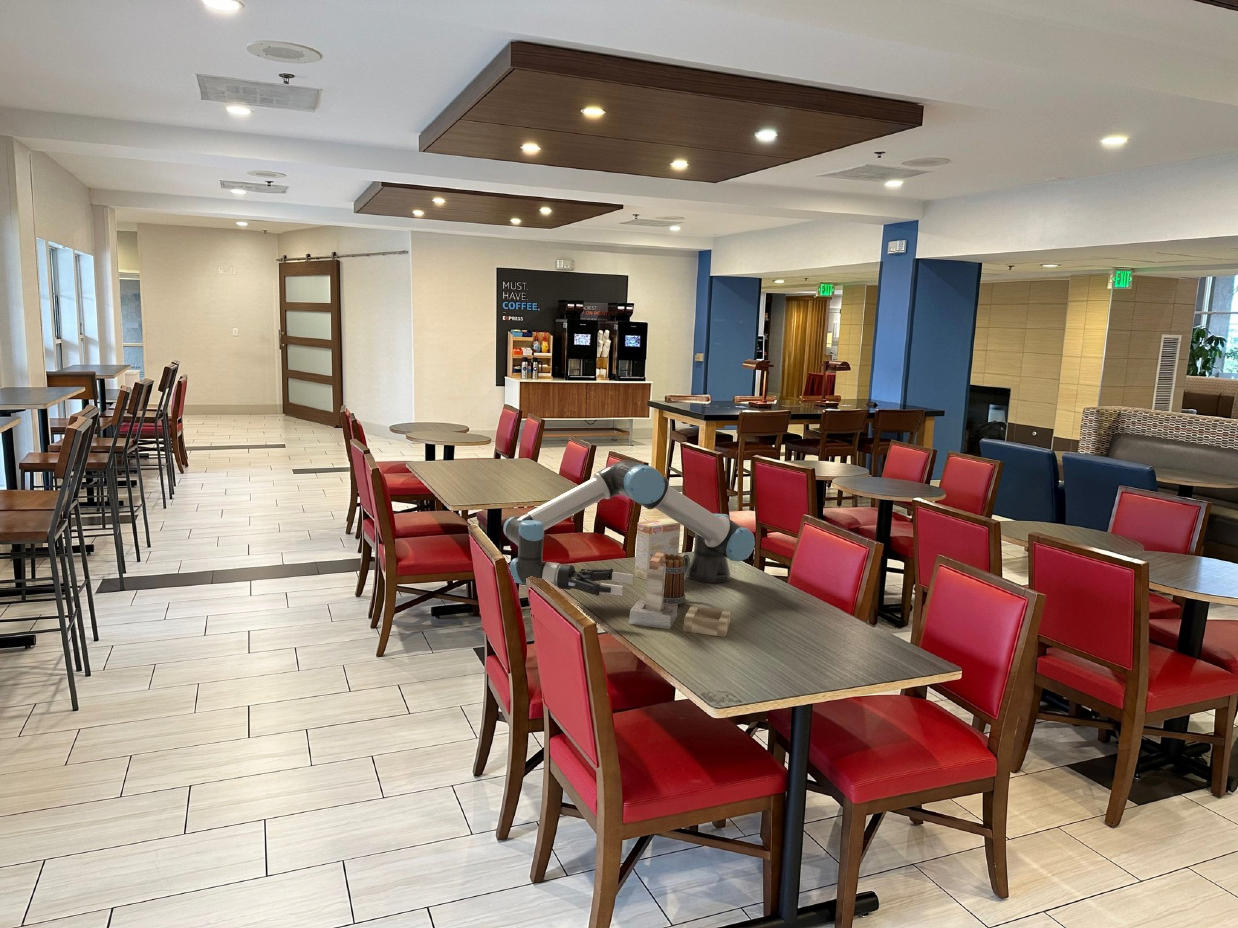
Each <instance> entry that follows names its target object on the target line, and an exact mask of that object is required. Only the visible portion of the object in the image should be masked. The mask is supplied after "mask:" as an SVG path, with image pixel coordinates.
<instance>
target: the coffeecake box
mask: <svg viewBox="0 0 1238 928" xmlns="http://www.w3.org/2000/svg"><path fill="white" fill-rule="evenodd" d="M636 527H637V528H636V532H637V533H636V546H635V547H636V549H635V563H634V577H637V578H640V579H642V580H644V581H647V578H648V565H649V562H650V560H651V559H652V558H653V556H654V555H655V554H656V553H657V552H665V554H668V555H670V554H674V555H680V554H679V553H680V552H679V550H680V538H681V537H680V536H681V524H680V523H678V522H677V521H675V520H674V519H672V518H662V519H655V520H650V521H649V520H647V521H639V522H637V526H636Z"/></svg>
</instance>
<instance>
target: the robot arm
mask: <svg viewBox="0 0 1238 928" xmlns="http://www.w3.org/2000/svg"><path fill="white" fill-rule="evenodd" d="M616 496H623V497H626V498H629V499H630V500H632V501H633V502H636V503H637V504H639V505H640V506H642V507H643V508H645V509H647V510H654V509H656V510H658V511H659V512H661V513H662V514H664V515H665V516H668V517H669V519H672V520H675V521H677V522H678V523H680V525H682V526H684V528H687V530H690V531H692V532H693V533H694V534H695V535H694V547H693V555H692V559H690V568H689V573H688V576H687V578H689V579H692V580H694V581H697V582H700V583H701V582H702V583H709V584H719V583H726V582H729V581H730V579H731V571H730V568H729V563H728V560H729V561H733V562H742V561H744V560H746V559H748V558H749V557H750V556H751V554H752V553H753V551H754V548H755V545H756V544H755V543H756V542H755V536H754V533H753V532H752V531H751V530H750V529H749V528H747V527H743V526H741V525H740V524H738V523H736V522H735V521H733V520H732V519H730V515H729V514H725V513H712V512H711V511H709V510H708V509H706V508H705V507H703V506H701V505H700V504H698V503H697V502H695V501H693V500H692V499H690V498H689V497H688V496H686V495H684V494H683V493H682V492H680V491H678V490H676V489H675V488H673V487H672V486H670V481H669V479H668V478H666V477H665V476H664V475H662V474H661V473H660V471H659V470H658V469H656V468H655V467H652V466H651V465H648V464H644V463H640V462H636V460H635V461H634V460H631V459H626V460H620V461H617V462H615V463H612V464H610V465H608V466H605V468H602V469H601V470H598V471H597V472H595V473H594V474H593V477H592V478H590V479H589V480H587V481H584V482H583V483H581V484H579V485H578V486H576V487H574V488H573V487H572V488H571V489H570V490H568V491H566V492H564V493H562V494H561V495H559V496H556V497H555V498H553V499H551V500H549V501H547V502H546V503H543V504H542V505H540V506H538V507H536V508H534V509H533V510H531V511H528V512H526V513H525V514H522V515H521V516H511V517H509V518H507V519H506V520H505V522H504V524H503V528H502V529H503V533H504V535H505V537H506V538H507V539H508V540H509V541H510V542H512V543H514V544H515V545H516V546H517V549H518V550H517V552H518V553H517V557H515V558H513V559H512V560H511V561H510V563H509V568H508V570H509V569H510V571H511V575H512V576H513V579H514V582H513V583H516V584H522V585H524V586H526V585H527V584H526V578H528V577H530V576H533V577H536V578H543V579H545V580H548V581H549V582H551V583H552V584H554V585H555V586H557V589H559V590H566V591H570V590H572V589H574V590H577V591H580V592H583V593H588V594H589V595H590V594H591V595H593V596H594V595H595V596H600V594H604V595H605V594H606V595H614V596H623V591H624V586H623V585H617V584H610V583H600V584H599V583H597V582H598V581H599V582H601V581H611V582H618V583H623V584H624V583H625V584H634V576H635V573H634V574H633V573H626V572H625V573H624V572H617V571H614V569H613V568H610V569H602V568H601V569H587V568H581V569H580V571H576V570H575V569H576V568H575V566H574V565H572V564H566V563H562V564H561V563H559V562H551V561H543V557H544V556H543V555H544V554H543V551H544V540H545V539H544V538H545V531H546V530H548V529H549V528H551V527H553V526H555V525H556V524H558V523H560V522H562V521H564V520H566V519H568V518H570V517H572V516H573V515H575V514H577V513H579V512H581V511H583V510H585V509H587V508H588V507H590V506H592V505H594V504H596V503H598V502H599V501H601V500H603V499H604V500H610V499H611V498H613V497H616Z"/></svg>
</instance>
